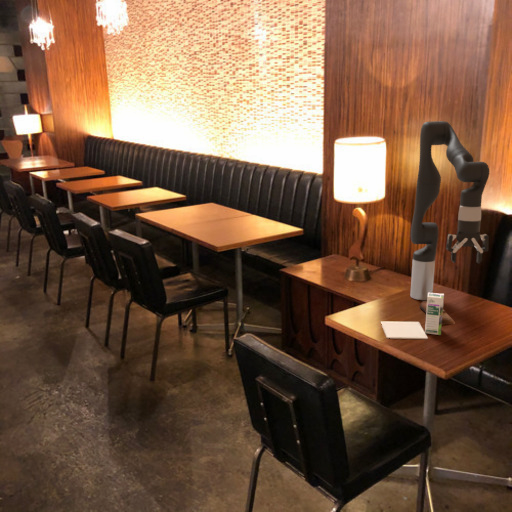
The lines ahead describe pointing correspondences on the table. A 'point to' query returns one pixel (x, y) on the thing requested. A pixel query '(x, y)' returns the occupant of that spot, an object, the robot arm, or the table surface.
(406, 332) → the placemat
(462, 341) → the table surface
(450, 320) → the sunglasses case
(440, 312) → the syrup box
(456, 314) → the table surface
